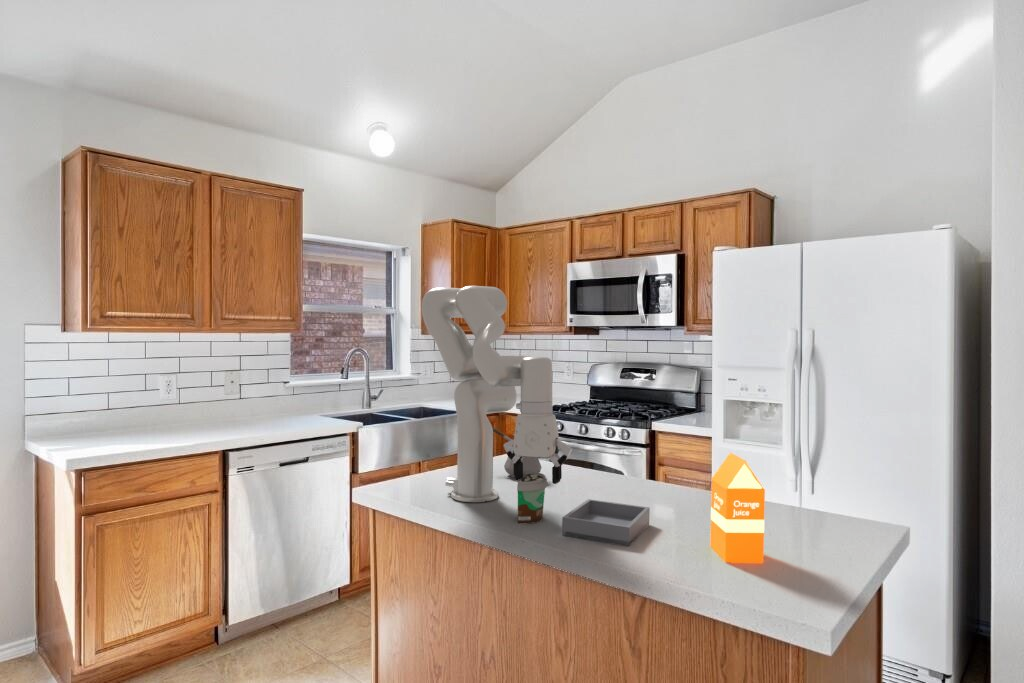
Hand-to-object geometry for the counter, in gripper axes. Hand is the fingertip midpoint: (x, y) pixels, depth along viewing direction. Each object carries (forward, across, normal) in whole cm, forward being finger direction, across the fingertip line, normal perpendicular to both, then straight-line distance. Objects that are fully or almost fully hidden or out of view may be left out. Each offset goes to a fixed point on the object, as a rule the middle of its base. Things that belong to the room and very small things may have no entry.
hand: (537, 481), depth 151 cm
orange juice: (+11, +45, -2) cm, 46 cm away
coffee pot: (+8, -27, +40) cm, 49 cm away
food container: (+9, -1, 0) cm, 9 cm away
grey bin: (+10, +17, 0) cm, 19 cm away
